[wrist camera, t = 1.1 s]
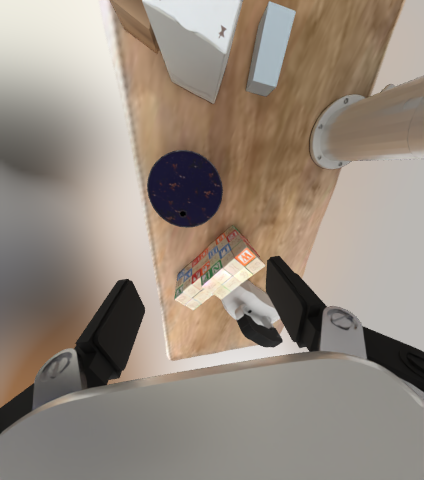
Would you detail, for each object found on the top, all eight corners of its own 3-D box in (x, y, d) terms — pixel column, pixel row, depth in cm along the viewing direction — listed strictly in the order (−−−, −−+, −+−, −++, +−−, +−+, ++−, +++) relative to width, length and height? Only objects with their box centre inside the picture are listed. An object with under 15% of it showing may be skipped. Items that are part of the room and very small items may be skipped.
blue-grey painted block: (258, 25, 24) (269, 1, 20) (281, 33, 25) (295, 11, 21) (245, 91, 27) (252, 80, 24) (265, 97, 28) (276, 87, 24)
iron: (258, 320, 57) (277, 368, 44) (211, 292, 48) (217, 340, 35) (281, 303, 54) (309, 349, 41) (235, 270, 45) (251, 314, 32)
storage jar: (169, 149, 30) (148, 137, 17) (216, 162, 32) (232, 160, 19) (164, 199, 34) (144, 221, 21) (206, 208, 36) (213, 233, 23)
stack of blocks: (193, 284, 46) (192, 322, 35) (177, 274, 44) (171, 310, 33) (247, 239, 41) (266, 266, 30) (232, 223, 39) (247, 247, 28)
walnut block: (134, -17, 21) (118, -66, 17) (169, 12, 22) (162, -25, 18) (124, 29, 23) (107, -4, 18) (157, 54, 24) (148, 29, 20)
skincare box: (226, 65, 26) (260, -42, 12) (213, 107, 28) (229, 55, 15) (177, 34, 23) (155, -135, 10) (167, 82, 26) (138, -4, 12)
